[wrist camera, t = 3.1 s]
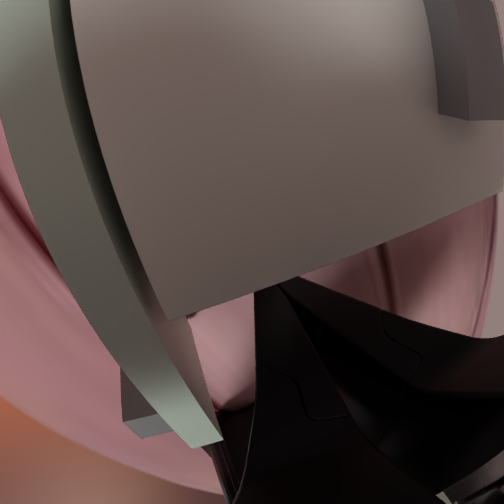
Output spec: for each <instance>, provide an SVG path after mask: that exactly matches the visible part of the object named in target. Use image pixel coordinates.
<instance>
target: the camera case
mask: <svg viewBox="0 0 504 504" xmlns="http://www.w3.org/2000/svg"><path fill="white" fill-rule="evenodd" d="M70 5H71V13H72V21H73V28H74V35H75V41H76V47H77V52H78V58H79V63H80V68H81V73H82V78H83V82H84V87H85V91H86V95H87V100H88V104H89V108H90V112H91V116H92V119H93V123H94V127H95V130H96V134H97V138H98V141H99V144H100V148H101V151H102V154H103V158H104V161H105V164H106V167H107V170H108V174H109V177H110V180H111V183H112V186H113V189H114V191H115V194H116V197H117V200H118V203H119V206H120V208H121V211H122V214H123V217H124V219H125V222H126V225H127V227H128V230H129V232H130V235H131V237H132V240H133V243H134V245H135V247H136V250H137V252H138V255H139V257H140V260H141V262H142V264H143V267H144V269H145V271H146V274H147V276H148V278H149V281H150V283H151V285H152V287H153V290H154V292H155V294H156V296H157V298H158V300H159V303H160V305H161V307H162V309H163V311H164V313H165V315H166V317H167V319H168V321H170V320H173V319H176V318H179V317H182V316H185V315H188V314H191V313H194V312H197V311H200V310H203V309H206V308H209V307H212V306H215V305H218V304H221V303H224V302H227V301H230V300H233V299H236V298H239V297H241V296H244V295H247V294H250V293H253V292H256V291H258V290H261V289H264V288H267V287H270V286H272V285H275V284H278V283H281V282H283V281H286V280H289V279H291V278H294V277H297V276H300V275H302V274H305V273H308V272H310V271H313V270H316V269H318V268H321V267H323V266H326V265H329V264H331V263H334V262H336V261H339V260H342V259H344V258H347V257H349V256H352V255H354V254H357V253H359V252H362V251H365V250H367V249H370V248H372V247H375V246H377V245H379V244H382V243H384V242H387V241H389V240H392V239H394V238H397V237H399V236H401V235H404V234H406V233H409V232H411V231H413V230H416V229H418V228H421V227H423V226H425V225H428V224H430V223H432V222H435V221H437V220H439V219H442V218H444V217H446V216H448V215H451V214H453V213H455V212H457V211H460V210H462V209H464V208H466V207H469V206H471V205H473V204H475V203H478V202H480V201H482V200H484V199H486V198H488V197H491V196H493V195H495V194H497V193H499V192H501V191H503V186H504V47H503V40H502V35H501V29H500V23H499V19H498V14H497V10H496V5H495V2H494V0H70Z"/></svg>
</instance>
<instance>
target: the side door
mask: <svg viewBox="0 0 504 504" xmlns="http://www.w3.org/2000/svg"><path fill="white" fill-rule="evenodd" d="M0 116H1V120H2V124H3V128H4V132H5V136H6V140H7V143H8V147H9V150H10V153H11V157H12V160H13V163H14V166H15V169H16V172H17V175H18V178H19V181H20V184H21V186H22V189H23V192H24V195H25V197H26V200H27V202H28V205H29V207H30V210H31V212H32V215H33V217H34V219H35V222H36V224H37V226H38V228H39V231H40V233H41V235H42V237H43V239H44V241H45V244H46V246H47V248H48V250H49V252H50V254H51V256H52V258H53V260H54V262H55V264H56V266H57V268H58V269H59V271H60V273H61V275H62V277H63V279H64V281H65V282H66V284H67V286H68V288H69V290H70V291H71V293H72V295H73V296H74V298H75V300H76V302H77V303H78V305H79V307H80V308H81V310H82V311H83V313H84V315H85V316H86V318H87V319H88V321H89V323H90V324H91V326H92V327H93V329H94V330H95V332H96V333H97V335H98V336H99V338H100V339H101V341H102V342H103V344H104V345H105V346H106V348H107V349H108V351H109V352H110V354H111V355H112V356H113V358H114V359H115V360H116V362H117V363H118V365H119V366H120V375H121V403H122V419H123V423H124V424H125V425H127V426H128V427H129V428H130V429H131V430H132V431H133V432H134V433H135V434H137V435H138V436H139V437H140V438H145V437H150V436H155V435H159V434H163V433H167V432H171V431H175V432H176V433H177V434H178V435H179V436H180V437H181V438H182V439H183V440H184V441H185V442H186V443H187V444H188V445H189V446H190V447H191V448H192V449H193V448H197V447H201V446H204V445H208V444H211V443H215V442H218V441H222V440H224V439H223V436H222V433H221V430H220V427H219V424H218V421H217V418H216V415H215V412H214V409H213V405H212V402H211V399H210V395H209V392H208V389H207V385H206V382H205V378H204V375H203V371H202V368H201V364H200V361H199V357H198V353H197V349H196V346H195V342H194V338H193V334H192V330H191V327H190V325H189V322H188V320H187V318H186V316H182V317H179V318H176V319H173V320H170V321H168V319H167V317H166V315H165V313H164V311H163V309H162V307H161V305H160V303H159V300H158V298H157V296H156V294H155V292H154V290H153V287H152V285H151V283H150V281H149V278H148V276H147V274H146V271H145V269H144V267H143V264H142V262H141V260H140V257H139V255H138V252H137V250H136V247H135V245H134V243H133V240H132V237H131V235H130V232H129V230H128V227H127V225H126V222H125V219H124V217H123V214H122V211H121V208H120V206H119V203H118V200H117V197H116V194H115V191H114V189H113V186H112V183H111V180H110V177H109V174H108V170H107V167H106V164H105V161H104V158H103V154H102V151H101V148H100V144H99V141H98V138H97V134H96V130H95V127H94V123H93V119H92V116H91V112H90V108H89V104H88V100H87V95H86V91H85V87H84V82H83V78H82V73H81V68H80V63H79V58H78V52H77V47H76V41H75V35H74V28H73V21H72V13H71V5H70V0H0Z"/></svg>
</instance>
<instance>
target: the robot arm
mask: <svg viewBox="0 0 504 504" xmlns="http://www.w3.org/2000/svg"><path fill="white" fill-rule="evenodd" d="M254 322H255V362H256V367H255V370H256V391H255V404H254V406H251V407H249V408H246V409H243V410H240V411H237V412H234V413H231V414H228V415H225V416H222V417H219V418H217V421H218V424H219V427H220V430H221V433H222V436H223V439H224V440H222V441H218V442H215V443H211V444H208V445H204V446H201V447H202V448H203V449H204V450H205V451H206V453H207V454H208V455H209V456H210V457H211V458H212V460H213V463H214V466H215V469H216V472H217V476H218V479H219V482H220V484H221V487H222V490H223V493H224V496H225V499H226V501H227V504H446V503H445V502H444V501H442V500H441V499H440V498H438V497H437V496H436V495H437V494H439V493H440V492H442V491H443V492H444V493H445V495H446V496H447V497H448V499H449V500H450V502H451V503H452V504H504V335H502V336H499V337H494V338H474V337H470V336H466V335H462V334H458V333H454V332H451V331H447V330H443V329H440V328H436V327H432V326H429V325H426V324H422V323H419V322H416V321H412V320H410V319H407V318H404V317H401V316H398V315H396V314H393V313H390V312H388V311H385V310H382V311H381V309H380V308H377V307H375V306H372V305H370V304H367V303H365V302H362V301H359V300H357V299H354V298H352V297H349V296H347V295H344V294H342V293H339V292H337V291H334V290H332V289H329V288H326V287H324V286H321V285H319V284H316V283H314V282H311V281H309V280H306V279H304V278H301V277H299V276H297V277H294V278H291V279H289V280H286V281H283V282H281V283H278V284H275V285H272V286H270V287H267V288H264V289H261V290H258V291H256V292H254Z"/></svg>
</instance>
